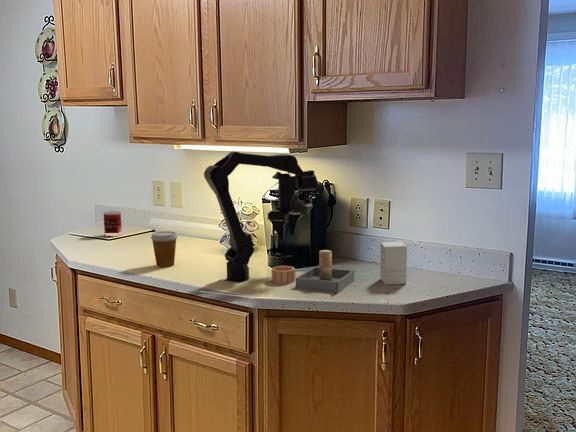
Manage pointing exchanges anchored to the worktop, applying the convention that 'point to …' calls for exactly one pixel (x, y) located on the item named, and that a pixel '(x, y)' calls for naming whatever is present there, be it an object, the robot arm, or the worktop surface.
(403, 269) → the supplement box
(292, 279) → the pink short hollow cylinder
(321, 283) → the tray
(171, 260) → the disposable coffee cup
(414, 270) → the worktop surface
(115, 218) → the canned food
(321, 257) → the dowel
